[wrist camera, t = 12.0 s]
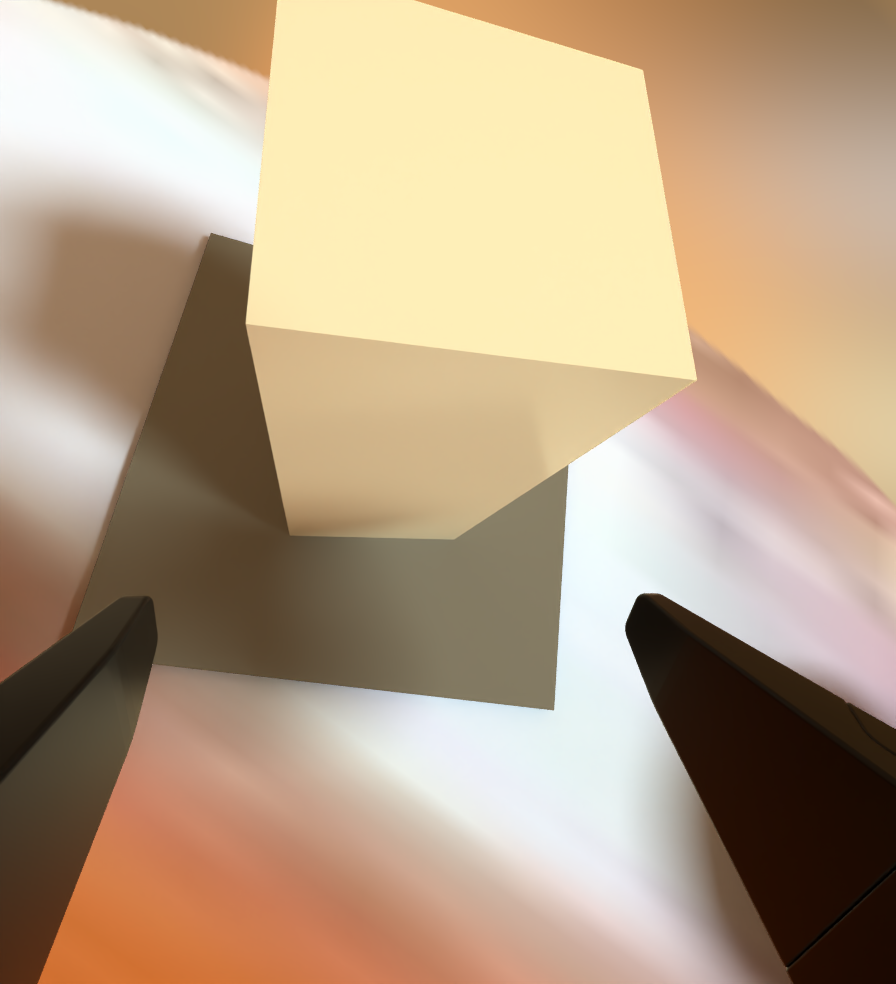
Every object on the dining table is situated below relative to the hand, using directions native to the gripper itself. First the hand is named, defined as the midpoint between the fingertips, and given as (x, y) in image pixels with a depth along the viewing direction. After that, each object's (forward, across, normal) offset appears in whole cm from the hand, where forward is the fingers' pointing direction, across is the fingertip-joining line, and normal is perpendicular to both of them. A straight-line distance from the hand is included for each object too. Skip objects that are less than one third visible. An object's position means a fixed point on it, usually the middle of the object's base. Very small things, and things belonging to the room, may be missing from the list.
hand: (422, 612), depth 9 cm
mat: (+10, 0, +2) cm, 10 cm away
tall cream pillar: (+9, 0, +1) cm, 9 cm away
